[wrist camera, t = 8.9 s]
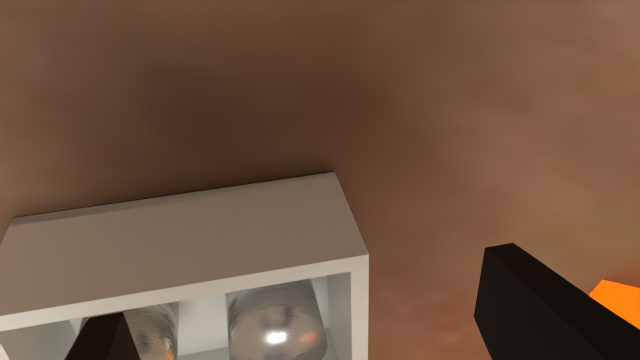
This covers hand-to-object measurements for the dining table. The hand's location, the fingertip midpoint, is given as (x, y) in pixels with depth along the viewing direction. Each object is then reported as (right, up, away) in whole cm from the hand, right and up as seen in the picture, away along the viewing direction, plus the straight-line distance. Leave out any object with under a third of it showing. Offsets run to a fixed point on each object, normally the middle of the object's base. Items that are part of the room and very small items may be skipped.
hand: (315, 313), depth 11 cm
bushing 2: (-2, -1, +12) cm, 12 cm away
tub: (-5, -2, +12) cm, 13 cm away
